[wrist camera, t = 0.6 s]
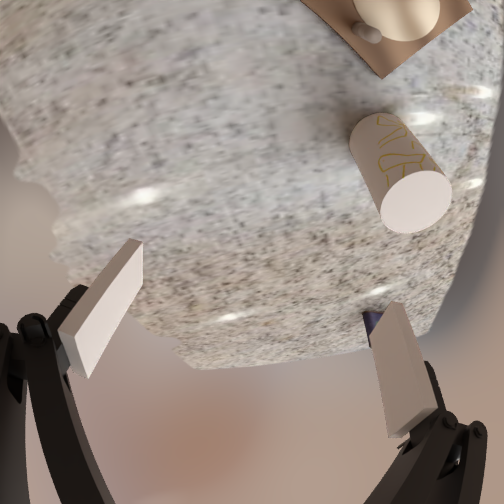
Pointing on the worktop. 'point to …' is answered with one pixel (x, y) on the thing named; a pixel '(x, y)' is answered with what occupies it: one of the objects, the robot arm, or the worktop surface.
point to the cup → (399, 174)
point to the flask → (371, 321)
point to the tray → (388, 26)
